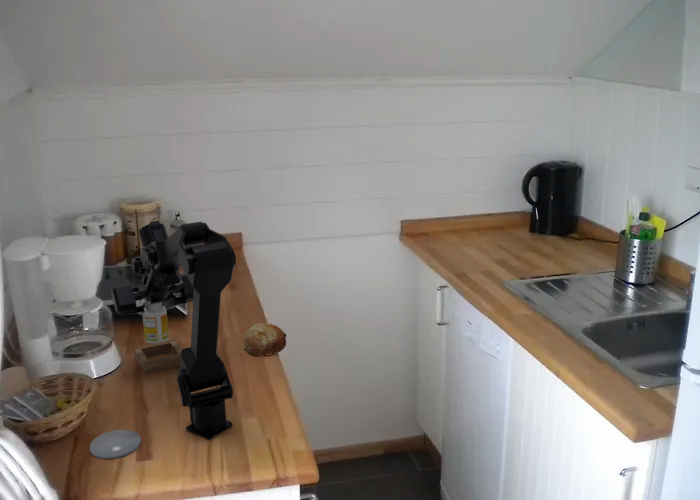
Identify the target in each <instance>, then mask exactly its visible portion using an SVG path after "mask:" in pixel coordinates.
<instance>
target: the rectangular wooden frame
mask: <svg viewBox="0 0 700 500" xmlns="http://www.w3.org/2000/svg"><path fill="white" fill-rule="evenodd" d="M182 349H183V348H181V347H180V345H179V344H178V343H177V342H176V341H175V339H172V340H166V341H164V342H161V343H151V344H148V345H144V346H143V345H142V346H139V347H134V349H133V351H134V358H135V360H136V362H137V363H138V365H139V366H140V367H141V369H142V371H143V372H144V374H150V373H154V372H155V373H156V372H159V371H164V370H168V369H171V368H172V369H173V368H176V367H180V362H181V351H182ZM167 354H169V355H167ZM161 355H166V356H162V357H157V356H161ZM152 357H157V358H153V359H152ZM148 358H151V359H148Z"/></svg>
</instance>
